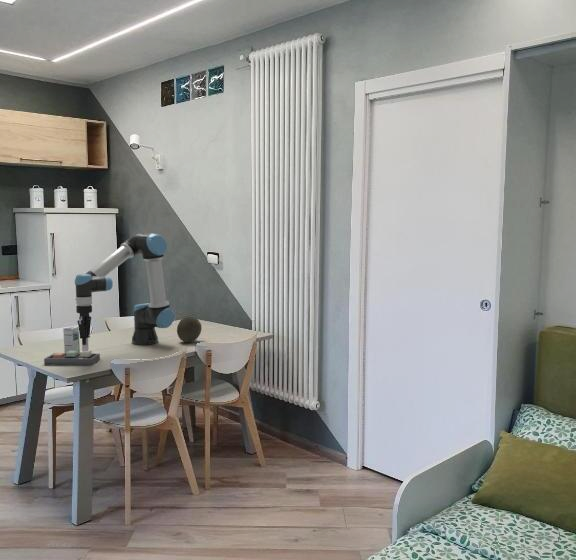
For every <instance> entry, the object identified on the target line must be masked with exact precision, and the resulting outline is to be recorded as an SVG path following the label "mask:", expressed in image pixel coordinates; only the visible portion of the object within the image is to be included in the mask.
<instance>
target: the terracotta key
mask: <svg viewBox="0 0 576 560" xmlns="http://www.w3.org/2000/svg"><path fill="white" fill-rule="evenodd" d="M54 353H55V354H54ZM54 353H53V354H54V355H53V358H62V357H64V356H65V352H54Z"/></svg>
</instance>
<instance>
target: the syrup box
mask: <svg viewBox="0 0 576 560" xmlns="http://www.w3.org/2000/svg"><path fill="white" fill-rule="evenodd" d="M62 332H63V345H64V346H63V348H64V350H63V351H64V353H67V352H68V351H78V353H80V352H81V350H80V334H79V326H77V325H76V326H75V325H73V326H67V327H63V328H62Z"/></svg>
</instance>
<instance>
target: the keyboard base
mask: <svg viewBox="0 0 576 560" xmlns="http://www.w3.org/2000/svg"><path fill="white" fill-rule="evenodd" d="M55 353H56V352H54V353H52V354H50V355H49V356H46V357H45V358H44V359H43V363H44V364H55V365H54V366H93V365H94V364H96V363H97V362H99V361H100V360H101V353H93V352H92V355H91V356H89V357H80V352H79V353H78V355H77V356H75V357H67V356H66V353H65V352H64V353H65V356H64V357H62V358H53V355H54V354H55ZM98 360H99V361H98ZM95 362H96V363H95Z"/></svg>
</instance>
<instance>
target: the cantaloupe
mask: <svg viewBox="0 0 576 560" xmlns="http://www.w3.org/2000/svg"><path fill="white" fill-rule="evenodd" d="M201 332H202V323H201V321H200V320H199V319H198V318H196V317H194V316H185V317H183V318H181V319H180V321H179V322H178V323H177V328H176V334H177V337H178V338H179V340H181V341H182V342H184V343H186V344H190V342H191V343H193V342H194V341H196V340H197V339H198V338H199V337H200V335H201Z"/></svg>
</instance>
